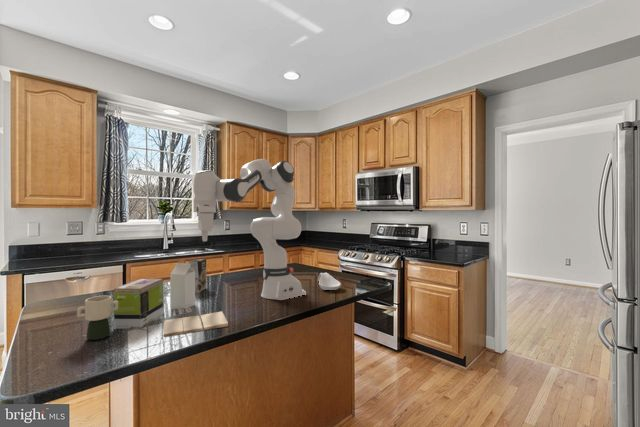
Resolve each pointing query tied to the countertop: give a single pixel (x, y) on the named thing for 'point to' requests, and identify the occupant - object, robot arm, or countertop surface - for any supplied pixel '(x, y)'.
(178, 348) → the countertop surface
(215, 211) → the robot arm
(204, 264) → the coffee box
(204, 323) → the board
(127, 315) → the tea box
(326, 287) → the spoon rest
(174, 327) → the laid floor
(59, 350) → the countertop surface
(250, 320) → the countertop surface
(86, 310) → the character mug
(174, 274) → the milk carton
